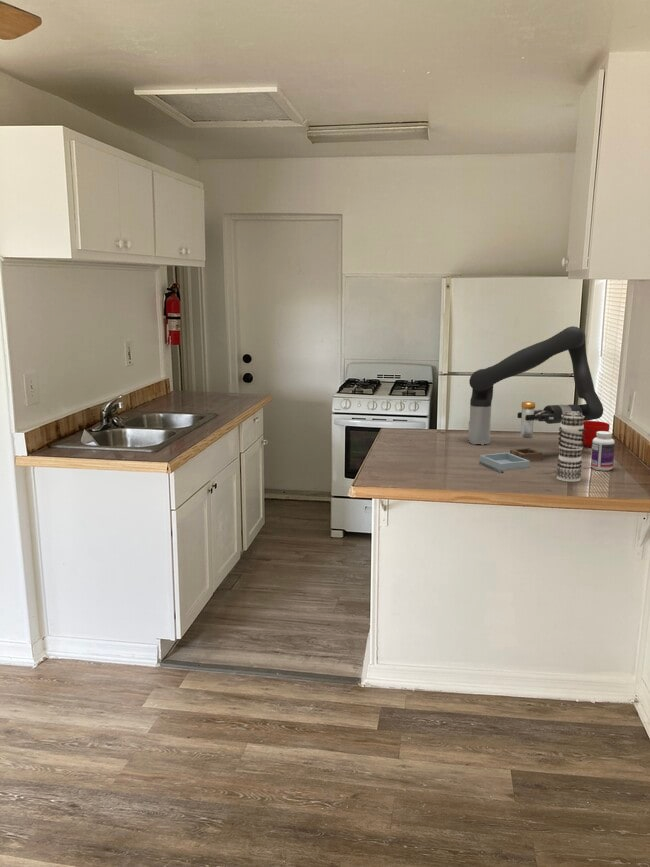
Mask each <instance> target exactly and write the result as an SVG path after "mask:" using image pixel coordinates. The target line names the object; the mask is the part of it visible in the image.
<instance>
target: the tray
mask: <svg viewBox="0 0 650 867" xmlns="http://www.w3.org/2000/svg"><path fill="white" fill-rule="evenodd" d="M481 464H482V465H481ZM479 465H481V466H483V465H484V467H486V468H488V469H489V470H493V471H495V472H497V473H499V474H503V472H504V471H510V470H517V469H519V470H520V469H528V468H530V467H531V466H530V465H531V461H528V460H526V459H523V458H521V457H518V456H515V455H513V454H510V452H501V453H489V454H479Z"/></svg>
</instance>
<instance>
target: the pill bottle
mask: <svg viewBox="0 0 650 867" xmlns="http://www.w3.org/2000/svg"><path fill="white" fill-rule="evenodd" d="M612 433H613V432H610V431H609V432H607V431H598V432H596V436H597V437H596V438H594V439H593V441H592V447H591V458H590V459H591V460H590V467H591V469H593V470H595V471H604V472H606V471H607V472H609V471H610V470H612V469H613V468H614V457H615V446H616V444H615V439H613V438H612V435H613V434H612Z"/></svg>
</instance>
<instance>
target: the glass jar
mask: <svg viewBox="0 0 650 867" xmlns="http://www.w3.org/2000/svg"><path fill="white" fill-rule="evenodd" d="M535 409H536V402H534V401H522V402H521V412H522V415H521V418H520V433H519V436H520V438H522V439H532V438H534V437H533V436H534V421H535V420H530V421H527V420H525V416H526V415H532V414H534V410H535Z"/></svg>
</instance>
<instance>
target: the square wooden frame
mask: <svg viewBox="0 0 650 867" xmlns="http://www.w3.org/2000/svg"><path fill="white" fill-rule="evenodd" d="M509 453H510V454H513V455H515V456H518V457H521V458H523V459H526V460H528V461H530V462H536V461H537V462H538V461H542V460H543V452H541V451H538V450H535V449H532V448H530V447H525V448H524V447H523V448H515V449H509Z"/></svg>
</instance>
